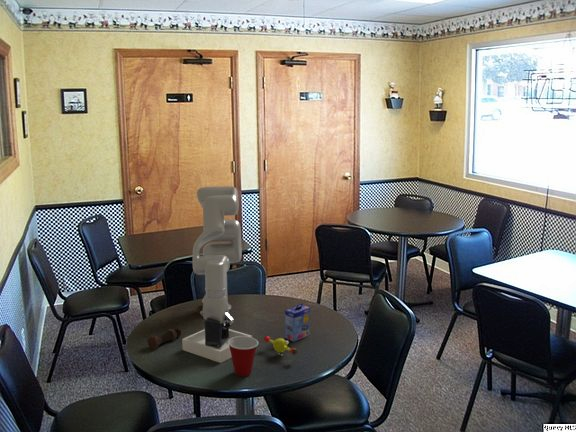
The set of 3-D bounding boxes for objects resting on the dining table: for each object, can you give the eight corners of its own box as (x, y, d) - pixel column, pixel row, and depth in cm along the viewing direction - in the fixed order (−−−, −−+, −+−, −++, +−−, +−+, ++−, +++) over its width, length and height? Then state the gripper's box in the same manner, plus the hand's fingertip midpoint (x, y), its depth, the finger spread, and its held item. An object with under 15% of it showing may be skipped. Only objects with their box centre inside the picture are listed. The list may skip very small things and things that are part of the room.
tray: (182, 350, 227) (182, 339, 226) (214, 335, 241) (214, 324, 240) (220, 363, 215) (220, 351, 214) (252, 346, 229) (251, 335, 228)
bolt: (180, 340, 240) (153, 352, 228) (173, 332, 242) (145, 344, 230) (185, 330, 238) (158, 342, 226) (177, 322, 240) (150, 333, 228)
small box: (220, 348, 222) (219, 322, 220) (204, 346, 223) (203, 320, 221) (229, 336, 232) (229, 311, 230) (214, 335, 233) (213, 310, 231)
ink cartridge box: (294, 342, 233) (294, 307, 230) (284, 338, 237) (283, 304, 234) (310, 335, 240) (310, 301, 237) (300, 331, 244) (300, 298, 241)
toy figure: (302, 360, 216) (302, 343, 215) (291, 365, 213) (290, 347, 211) (271, 346, 230) (270, 329, 228) (260, 350, 226) (259, 333, 225)
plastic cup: (259, 379, 202) (259, 346, 200) (228, 380, 202) (227, 348, 199) (258, 365, 213) (258, 334, 211) (228, 366, 212) (227, 335, 210)
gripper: (192, 290, 226) (194, 333, 229) (225, 299, 216) (227, 344, 219) (206, 285, 232) (207, 327, 235) (239, 294, 222) (240, 337, 225)
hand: (217, 335), depth 227 cm, fingers closed on small box, 8 cm apart
